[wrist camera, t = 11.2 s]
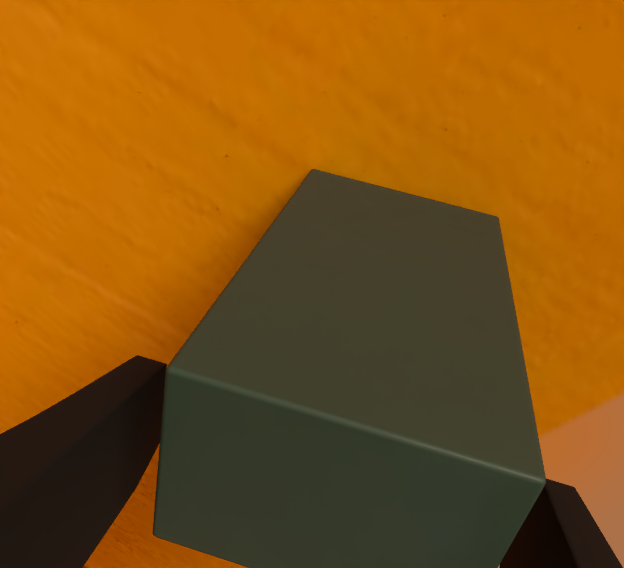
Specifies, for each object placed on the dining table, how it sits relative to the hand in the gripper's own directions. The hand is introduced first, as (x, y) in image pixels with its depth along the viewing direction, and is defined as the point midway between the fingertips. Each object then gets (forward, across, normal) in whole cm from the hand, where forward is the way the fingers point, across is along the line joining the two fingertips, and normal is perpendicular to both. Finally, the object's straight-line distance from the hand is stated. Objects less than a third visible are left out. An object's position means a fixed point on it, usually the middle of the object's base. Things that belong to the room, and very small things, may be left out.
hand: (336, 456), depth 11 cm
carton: (+2, 0, -3) cm, 4 cm away
